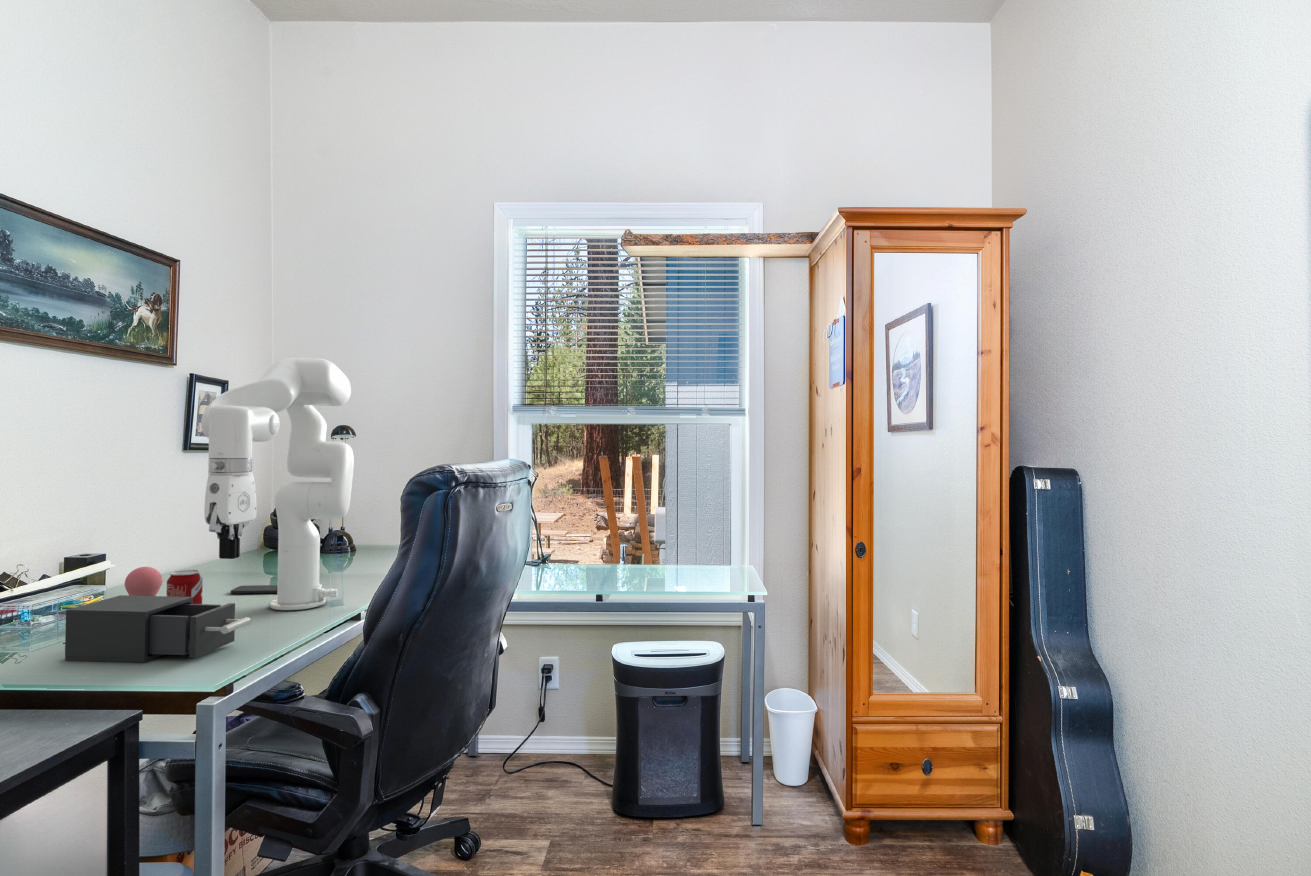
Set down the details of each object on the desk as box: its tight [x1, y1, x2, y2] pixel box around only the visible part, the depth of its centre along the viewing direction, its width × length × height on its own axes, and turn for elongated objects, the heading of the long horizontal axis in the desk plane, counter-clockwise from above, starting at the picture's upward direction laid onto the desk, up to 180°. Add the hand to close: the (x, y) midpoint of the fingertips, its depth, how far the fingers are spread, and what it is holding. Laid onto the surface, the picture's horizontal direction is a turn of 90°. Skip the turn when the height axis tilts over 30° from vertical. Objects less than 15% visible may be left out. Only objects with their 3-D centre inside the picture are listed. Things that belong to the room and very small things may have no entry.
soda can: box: [165, 569, 204, 604], centre depth 156 cm, size 7×7×12 cm
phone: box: [230, 584, 278, 594], centre depth 191 cm, size 7×1×15 cm
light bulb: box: [124, 566, 163, 596], centre depth 161 cm, size 7×7×12 cm
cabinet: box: [64, 594, 193, 664], centre depth 136 cm, size 16×13×10 cm
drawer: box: [148, 602, 252, 659], centre depth 136 cm, size 19×11×8 cm, turn 88°
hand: (229, 557), depth 138 cm, fingers closed
